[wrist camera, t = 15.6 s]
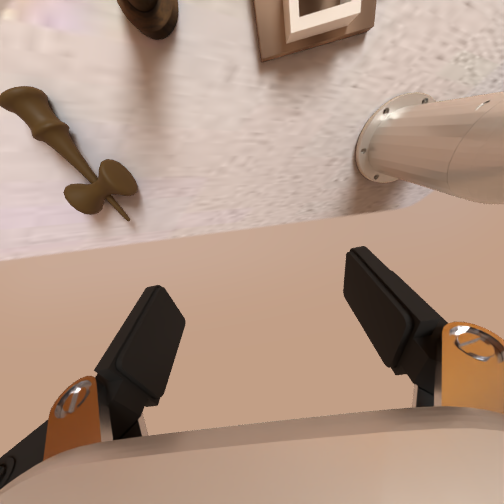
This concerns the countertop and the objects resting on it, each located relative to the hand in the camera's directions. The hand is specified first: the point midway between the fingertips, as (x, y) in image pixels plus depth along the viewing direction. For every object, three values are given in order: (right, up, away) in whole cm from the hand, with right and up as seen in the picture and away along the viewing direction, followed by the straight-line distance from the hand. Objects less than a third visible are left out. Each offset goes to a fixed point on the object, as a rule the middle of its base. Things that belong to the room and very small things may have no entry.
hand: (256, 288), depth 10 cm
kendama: (-27, +17, +22) cm, 39 cm away
